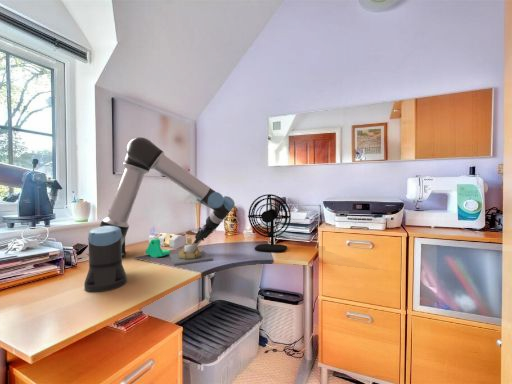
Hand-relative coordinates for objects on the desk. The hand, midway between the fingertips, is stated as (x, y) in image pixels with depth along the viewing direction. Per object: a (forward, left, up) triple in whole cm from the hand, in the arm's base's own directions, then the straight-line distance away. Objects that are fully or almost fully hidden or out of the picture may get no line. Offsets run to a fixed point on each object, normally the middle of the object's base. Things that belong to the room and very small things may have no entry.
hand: (194, 245), depth 151 cm
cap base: (-7, +4, -5) cm, 10 cm away
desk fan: (-12, -45, -5) cm, 47 cm away
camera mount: (+8, +19, -6) cm, 21 cm away
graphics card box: (+19, +41, -5) cm, 45 cm away
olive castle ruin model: (-5, +4, -4) cm, 7 cm away
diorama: (+32, +11, -6) cm, 35 cm away
